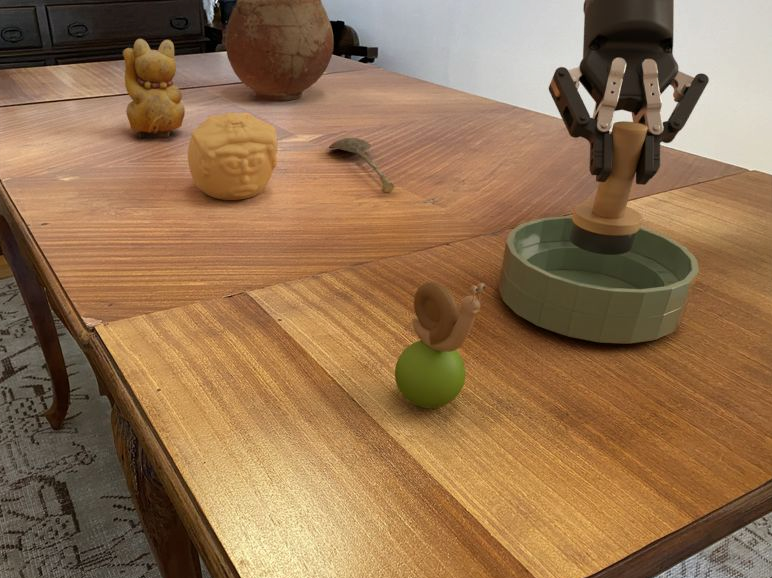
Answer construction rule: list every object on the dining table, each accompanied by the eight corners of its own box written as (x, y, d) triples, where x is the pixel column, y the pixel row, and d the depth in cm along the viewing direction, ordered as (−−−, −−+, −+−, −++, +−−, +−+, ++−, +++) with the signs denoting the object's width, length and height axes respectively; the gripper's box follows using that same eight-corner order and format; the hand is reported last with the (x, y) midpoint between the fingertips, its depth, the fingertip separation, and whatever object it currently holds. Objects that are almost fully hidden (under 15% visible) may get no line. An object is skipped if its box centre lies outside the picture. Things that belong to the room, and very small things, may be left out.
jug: (234, 83, 155) (228, -76, 139) (332, 85, 155) (337, -74, 139) (220, 107, 137) (211, -73, 121) (331, 110, 136) (337, -71, 120)
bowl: (643, 270, 77) (658, 219, 74) (709, 354, 63) (731, 295, 60) (485, 264, 78) (494, 213, 75) (514, 346, 64) (526, 287, 61)
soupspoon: (363, 150, 116) (324, 155, 115) (362, 129, 115) (323, 134, 113) (410, 190, 98) (365, 196, 97) (411, 166, 96) (365, 172, 95)
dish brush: (622, 231, 69) (653, 117, 64) (643, 257, 64) (679, 136, 58) (560, 229, 70) (586, 115, 64) (576, 254, 65) (605, 134, 59)
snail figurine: (432, 438, 53) (451, 296, 46) (378, 395, 57) (389, 260, 51) (483, 414, 55) (509, 276, 49) (428, 375, 60) (445, 244, 53)
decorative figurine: (183, 126, 125) (176, 35, 117) (189, 139, 118) (182, 43, 110) (128, 130, 123) (116, 37, 115) (130, 143, 116) (118, 45, 108)
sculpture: (204, 212, 90) (198, 127, 85) (182, 183, 100) (175, 105, 94) (287, 201, 94) (287, 119, 88) (258, 174, 103) (256, 98, 98)
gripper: (560, -25, 62) (552, 153, 59) (727, -20, 61) (730, 163, 57) (540, 31, 70) (532, 193, 66) (689, 37, 68) (689, 203, 64)
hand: (624, 178), depth 62 cm, fingers closed on dish brush, 3 cm apart
